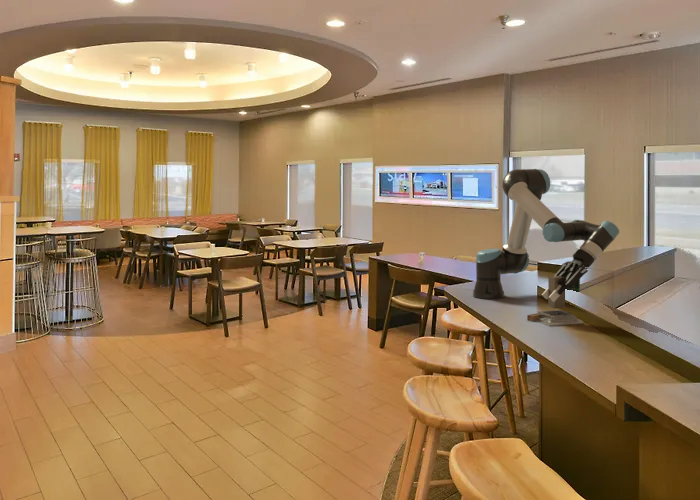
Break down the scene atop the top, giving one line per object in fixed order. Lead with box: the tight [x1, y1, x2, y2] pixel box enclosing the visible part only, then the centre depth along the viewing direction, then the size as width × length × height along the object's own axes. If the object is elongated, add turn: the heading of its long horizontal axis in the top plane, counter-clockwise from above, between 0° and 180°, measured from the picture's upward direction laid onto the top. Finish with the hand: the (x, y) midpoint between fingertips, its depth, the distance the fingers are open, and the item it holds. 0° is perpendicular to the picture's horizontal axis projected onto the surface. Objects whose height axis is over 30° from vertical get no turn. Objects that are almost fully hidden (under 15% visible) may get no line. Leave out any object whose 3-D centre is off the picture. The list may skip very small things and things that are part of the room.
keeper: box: [536, 309, 584, 327], centre depth 201 cm, size 14×14×3 cm
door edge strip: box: [526, 312, 540, 322], centre depth 207 cm, size 2×16×2 cm, turn 120°
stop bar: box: [547, 275, 566, 310], centre depth 200 cm, size 4×4×12 cm
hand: (547, 298), depth 200 cm, fingers closed on stop bar, 4 cm apart
